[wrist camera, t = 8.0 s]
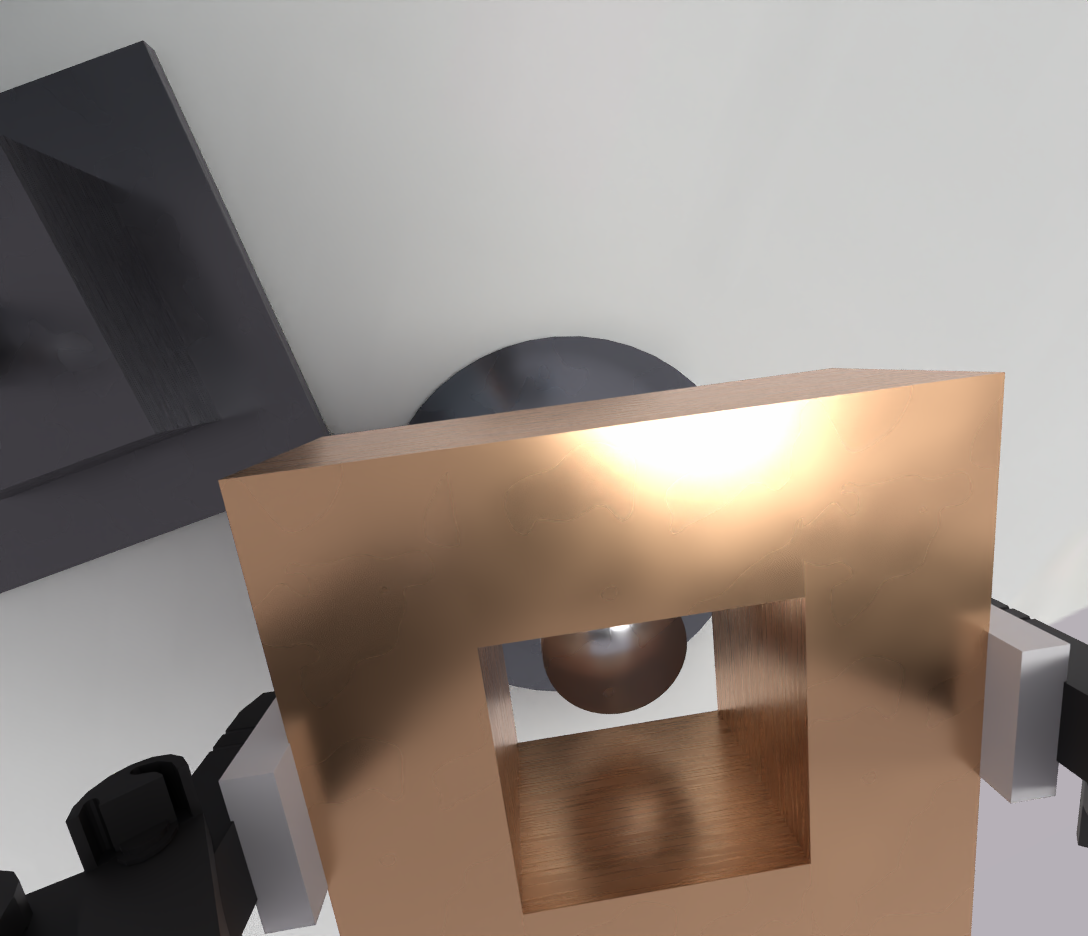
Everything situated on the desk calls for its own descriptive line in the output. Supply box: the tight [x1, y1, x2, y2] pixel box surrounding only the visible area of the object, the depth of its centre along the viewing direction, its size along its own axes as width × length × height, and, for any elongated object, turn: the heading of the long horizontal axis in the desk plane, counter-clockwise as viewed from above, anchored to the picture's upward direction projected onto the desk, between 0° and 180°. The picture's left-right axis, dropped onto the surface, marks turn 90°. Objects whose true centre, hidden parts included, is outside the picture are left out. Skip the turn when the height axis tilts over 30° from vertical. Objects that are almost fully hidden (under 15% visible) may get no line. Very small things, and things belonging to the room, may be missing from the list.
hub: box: [408, 336, 712, 714], centre depth 16 cm, size 14×14×9 cm
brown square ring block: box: [218, 368, 1005, 936], centre depth 10 cm, size 11×11×4 cm
